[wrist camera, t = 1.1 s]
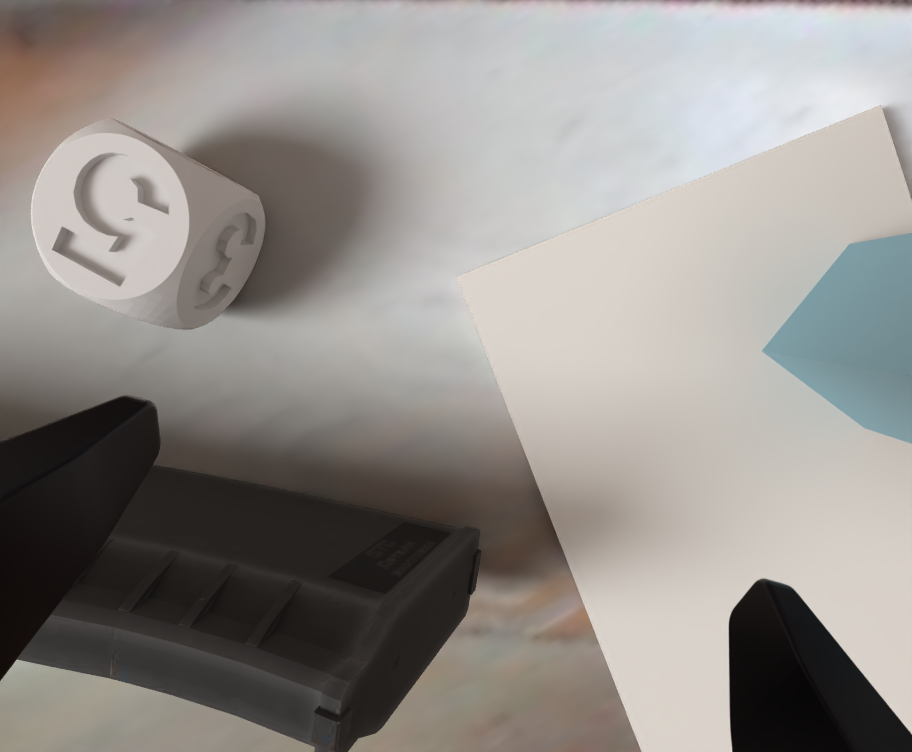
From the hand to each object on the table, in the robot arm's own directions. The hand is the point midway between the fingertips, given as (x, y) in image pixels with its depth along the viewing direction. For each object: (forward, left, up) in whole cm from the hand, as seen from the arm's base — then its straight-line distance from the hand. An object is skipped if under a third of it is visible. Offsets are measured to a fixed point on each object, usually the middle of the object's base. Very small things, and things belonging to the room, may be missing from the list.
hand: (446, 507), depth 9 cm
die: (+9, +8, -14) cm, 18 cm away
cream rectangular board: (-7, -8, -14) cm, 18 cm away
